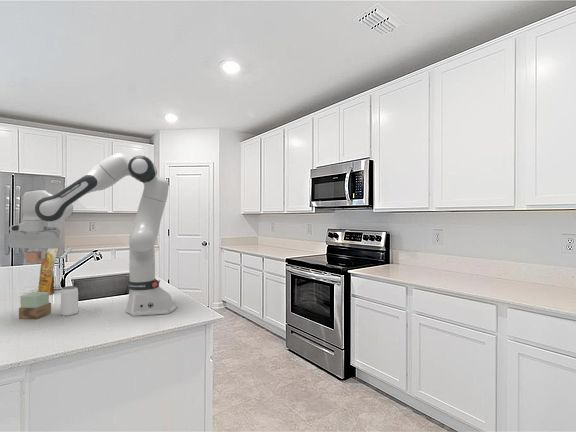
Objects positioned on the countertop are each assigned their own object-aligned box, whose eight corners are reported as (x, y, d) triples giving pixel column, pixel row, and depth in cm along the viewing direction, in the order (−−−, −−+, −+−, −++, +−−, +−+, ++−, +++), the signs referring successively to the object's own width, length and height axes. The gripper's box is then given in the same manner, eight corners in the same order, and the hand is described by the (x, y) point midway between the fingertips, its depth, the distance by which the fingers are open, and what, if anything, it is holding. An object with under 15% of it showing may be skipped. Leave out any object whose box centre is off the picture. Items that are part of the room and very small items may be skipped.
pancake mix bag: (49, 288, 192) (48, 240, 192) (60, 293, 181) (60, 243, 180) (35, 290, 187) (34, 241, 186) (46, 296, 175) (45, 244, 174)
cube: (43, 261, 145) (43, 251, 145) (36, 263, 141) (36, 252, 141) (33, 261, 145) (33, 251, 145) (25, 262, 141) (25, 252, 141)
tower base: (50, 313, 149) (50, 302, 149) (37, 319, 141) (37, 308, 141) (33, 313, 149) (32, 302, 148) (18, 319, 141) (18, 308, 140)
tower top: (48, 303, 148) (48, 292, 148) (36, 307, 141) (36, 296, 141) (33, 302, 148) (33, 291, 148) (20, 307, 141) (20, 296, 141)
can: (65, 317, 144) (65, 289, 143) (58, 314, 147) (58, 287, 147) (81, 313, 149) (80, 286, 149) (73, 310, 153) (73, 285, 152)
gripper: (64, 226, 146) (64, 257, 147) (16, 226, 145) (16, 257, 146) (54, 227, 140) (54, 259, 140) (5, 226, 139) (5, 259, 140)
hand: (34, 258), depth 143 cm, fingers closed on cube, 4 cm apart
